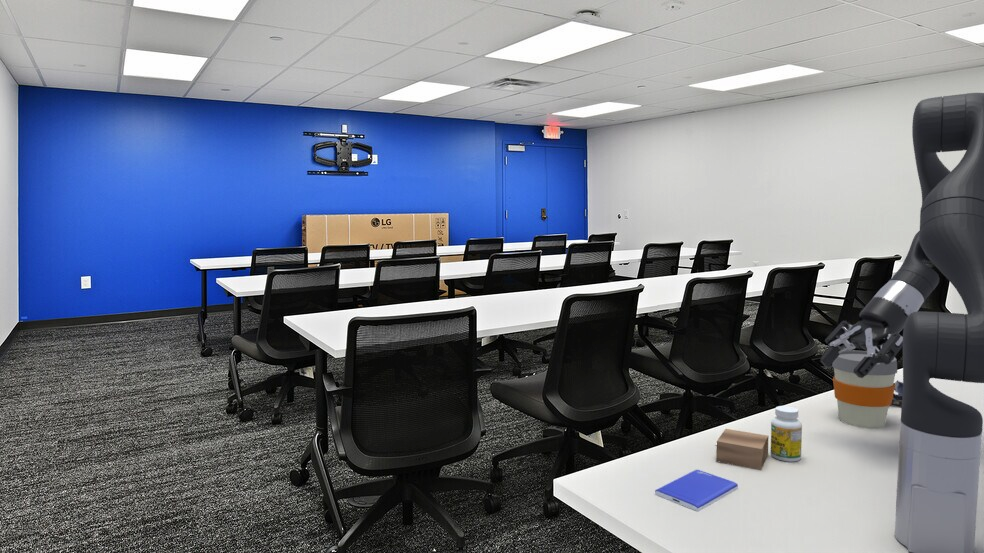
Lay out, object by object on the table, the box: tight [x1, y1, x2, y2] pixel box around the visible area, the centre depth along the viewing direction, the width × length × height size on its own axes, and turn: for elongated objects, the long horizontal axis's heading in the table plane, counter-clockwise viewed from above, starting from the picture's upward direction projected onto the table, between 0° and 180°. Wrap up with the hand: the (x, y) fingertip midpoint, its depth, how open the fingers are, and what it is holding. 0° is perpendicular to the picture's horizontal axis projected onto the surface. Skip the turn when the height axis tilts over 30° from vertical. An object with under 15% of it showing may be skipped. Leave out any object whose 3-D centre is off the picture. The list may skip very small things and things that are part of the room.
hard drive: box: [654, 469, 739, 512], centre depth 105 cm, size 2×8×12 cm
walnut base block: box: [715, 428, 769, 471], centre depth 119 cm, size 8×8×4 cm
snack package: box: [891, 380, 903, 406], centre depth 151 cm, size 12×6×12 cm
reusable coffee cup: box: [831, 350, 898, 429], centre depth 139 cm, size 12×12×15 cm
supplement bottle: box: [770, 405, 803, 463], centre depth 119 cm, size 5×5×10 cm
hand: (840, 369), depth 121 cm, fingers open, 8 cm apart
